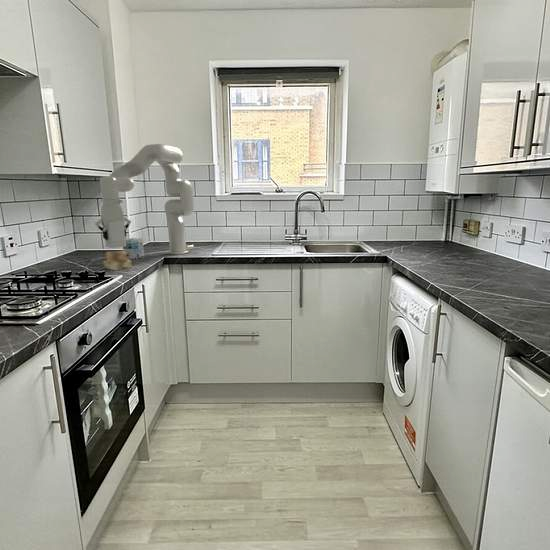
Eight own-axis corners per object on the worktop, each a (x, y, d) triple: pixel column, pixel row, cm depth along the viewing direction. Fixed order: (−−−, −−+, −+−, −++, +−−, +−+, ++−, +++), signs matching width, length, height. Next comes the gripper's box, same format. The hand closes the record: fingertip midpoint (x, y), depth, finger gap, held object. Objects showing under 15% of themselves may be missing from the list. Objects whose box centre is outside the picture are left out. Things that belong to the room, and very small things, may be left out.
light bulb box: (134, 259, 215) (132, 240, 213) (123, 259, 217) (121, 240, 214) (144, 255, 225) (142, 237, 223) (134, 255, 227) (132, 237, 224)
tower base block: (123, 265, 201) (122, 258, 201) (132, 268, 195) (131, 260, 194) (104, 268, 194) (103, 261, 194) (113, 271, 188) (112, 263, 187)
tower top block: (125, 258, 199) (124, 250, 198) (127, 261, 192) (126, 253, 191) (107, 260, 196) (106, 252, 195) (107, 263, 188) (106, 255, 187)
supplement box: (126, 246, 192) (123, 221, 189) (112, 248, 187) (108, 222, 184) (120, 245, 197) (117, 220, 194) (105, 247, 192) (102, 221, 189)
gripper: (127, 201, 195) (130, 236, 199) (90, 203, 185) (94, 239, 189) (131, 202, 189) (135, 237, 193) (93, 203, 179) (98, 241, 183)
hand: (115, 238), depth 191 cm, fingers closed on supplement box, 8 cm apart
